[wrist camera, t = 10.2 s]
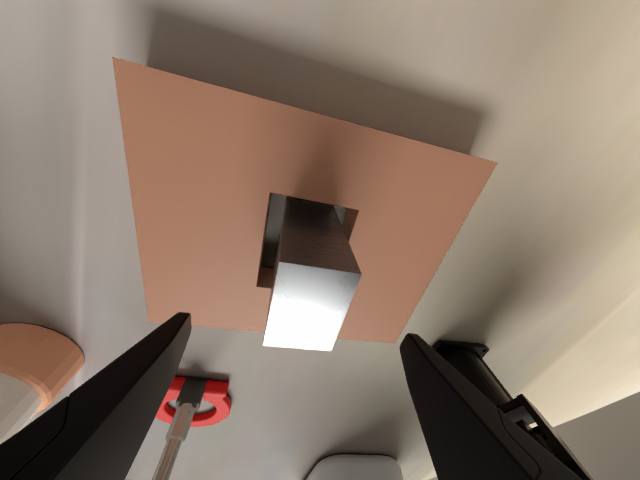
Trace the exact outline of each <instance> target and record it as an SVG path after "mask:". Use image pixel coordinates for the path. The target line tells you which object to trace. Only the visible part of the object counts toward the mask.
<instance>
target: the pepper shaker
mask: <svg viewBox="0 0 640 480" xmlns="http://www.w3.org/2000/svg"><path fill="white" fill-rule="evenodd" d="M83 363H84V355H83V353H82V351H81V350H80V348H79V347H78V345H76V344H75V343H74V342H73V341H71V340H70V339H69V338H67V337H65V336H64V335H62V334H60V333H58V332H56V331H53V330H50V329H47V328H44V327H41V326H37V325H30V324H23V323H9V324H2V325H0V444H1V443H3V442H4V441H6V440H7V439H9V438H10V437H12V436H13V435H14V434H16V433H17V432H19V431H20V430H22V429H23V427H24V426H25V425H26V424H27V423H28V421H29V420H30V419H31V418H32V417H33V415H34V414H36V413H38V412H40V411H41V410H43V409H44V408H46V407H48V406H49V405H50V404H51V403H52V401H53V400H54V399H55V398H56V397H57V396H58V394H59V393H60V392H61V391H62V390H63V388H64V387H65V386H66V385H67V384H68V383H69V381H70V380H71V379H72V378H73V377H74V376H75V374H76V373H77V372H78V371H79V370H80V368H81V367H82V365H83Z"/></svg>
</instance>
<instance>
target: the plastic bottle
mask: <svg viewBox="0 0 640 480" xmlns="http://www.w3.org/2000/svg"><path fill="white" fill-rule="evenodd" d="M306 480H403V476H402V472H401V468H400V466H399V464H398V463H397V461H396V460H395V459H393V458H391V457H389V456H384V455H352V454H339V455H333V456H330V457H327V458H325V459H323V460H321V461H320V462H319V463H318V464H317V465H316V466H315V467H314V469H313V470H312V472H311V473H310V475H309V476H308V477H307V479H306Z"/></svg>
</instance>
